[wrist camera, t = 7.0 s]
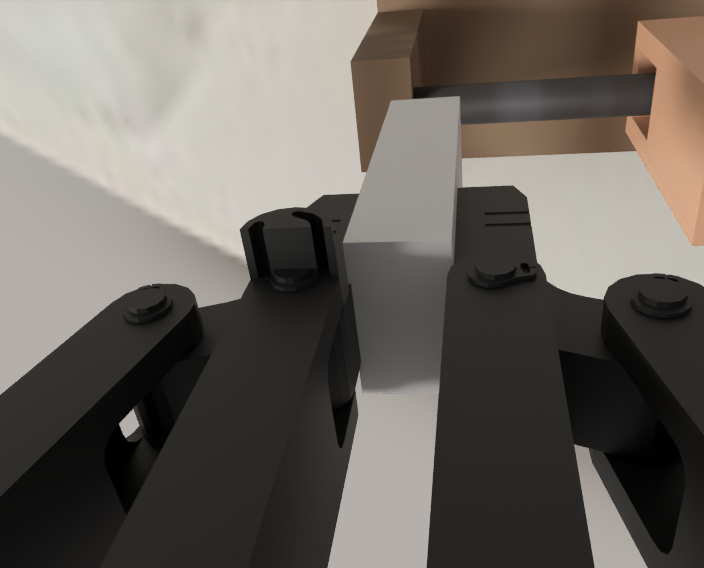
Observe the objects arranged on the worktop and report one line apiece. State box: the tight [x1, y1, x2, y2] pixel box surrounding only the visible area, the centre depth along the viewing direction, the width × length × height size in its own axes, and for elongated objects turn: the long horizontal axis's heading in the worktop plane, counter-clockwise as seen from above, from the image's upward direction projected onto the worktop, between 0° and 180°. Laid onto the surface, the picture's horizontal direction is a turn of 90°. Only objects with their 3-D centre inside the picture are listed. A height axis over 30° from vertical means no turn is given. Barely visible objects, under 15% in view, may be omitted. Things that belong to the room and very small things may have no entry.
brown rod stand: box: [351, 0, 704, 172], centre depth 26 cm, size 22×10×10 cm, turn 96°
